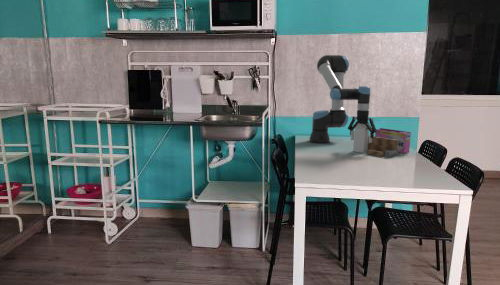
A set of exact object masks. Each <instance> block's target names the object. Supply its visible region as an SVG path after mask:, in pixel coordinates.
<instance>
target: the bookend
mask: <svg viewBox="0 0 500 285" xmlns="http://www.w3.org/2000/svg"><path fill="white" fill-rule="evenodd" d="M396 150H397V149H391V150H387V151H385V153H384V156H385V157H384V158H387V157H388V159H389V157H390V158H392V157H395V156H397V155H396Z"/></svg>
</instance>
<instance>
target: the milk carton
mask: <svg viewBox="0 0 500 285" xmlns="http://www.w3.org/2000/svg"><path fill="white" fill-rule="evenodd" d="M369 133H370V131H369V129H368V128H367V126H366V125H365V124H359V123H358V124H357V126H356V127H355V128H354V140H353V149H352V151H353V152H356V153H362V154H363V153H366V152H367V153H368V136H369Z"/></svg>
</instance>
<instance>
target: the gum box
mask: <svg viewBox="0 0 500 285" xmlns="http://www.w3.org/2000/svg"><path fill="white" fill-rule="evenodd" d="M376 130H377V132H375V133H374V137H381V138H388V139H395V140H398V150H397V153H399V154H400V153H401V154H406V153H409V152H410V145H411V137H412V136H411V135H412V132H410V131H406V130H405V131H404V130H398V129H390V128H383V127H380V128H379V129H378V128H376Z"/></svg>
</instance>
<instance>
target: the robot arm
mask: <svg viewBox="0 0 500 285" xmlns="http://www.w3.org/2000/svg"><path fill="white" fill-rule="evenodd" d="M349 67H350V61H349V58H348V57H347V56H346V55H342V54H338V55H334V54H331V55H330V54H325V55H323V56H322V57H320V58H319V59H318V61H317V64H316V68H317V71H318V73H319V74H321V75H322V77H323V79H324V81H325V83H326V84H327V87H328V88H329V97H330V99H331V108H330V109H329V110H324V109H323V110H321V109H320V110H317V111H314V112H313V113H312V124H311V125H312V126H311V127H312V128H311V134H310V136H309V142H311V143H316V144H327V143H330V141H331V140H330V135H329V131H328V130H329V129H330V128H338V129H339V128H344V127H346V125H347V124H348V122H349V113H348V112H347V111H346V109H345V108H344V101H345V100H346V101H357V107H356V108H357V111H356V115H353V116H352V118H351V121H350V123H349V125H348V127H347V130H348V131H349V135H350V141H354V131H355V128H356V126H357V124H358V123H359V124H365V125H366V126H367V128H368V129H369V143H372V138H373V137H375V132H377V130H376V129H377V128H376V126H375V123H374V118H373V117H369V115H370V111H369V110H370V101H371V100H370V99H371V87H370V86H367V85H366V86H365V85H364V86H361V85H359V86H358V88H355V87H354V88H344V78H345V77H344V76H345V75H346V73H347V71H349Z"/></svg>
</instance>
